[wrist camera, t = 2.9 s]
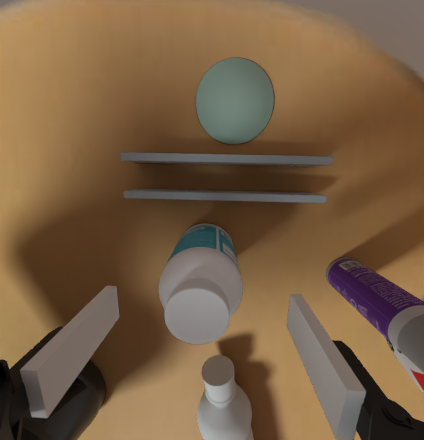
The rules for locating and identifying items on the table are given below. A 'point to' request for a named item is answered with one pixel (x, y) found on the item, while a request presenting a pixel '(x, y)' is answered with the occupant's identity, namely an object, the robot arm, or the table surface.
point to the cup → (408, 366)
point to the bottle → (223, 403)
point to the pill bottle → (201, 285)
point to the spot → (234, 100)
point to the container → (382, 306)
